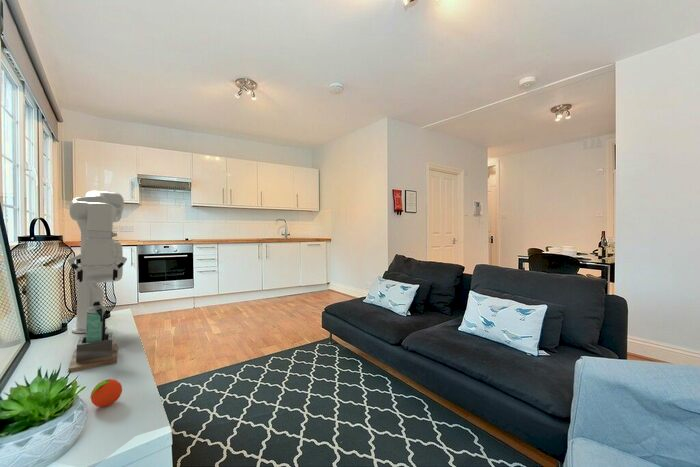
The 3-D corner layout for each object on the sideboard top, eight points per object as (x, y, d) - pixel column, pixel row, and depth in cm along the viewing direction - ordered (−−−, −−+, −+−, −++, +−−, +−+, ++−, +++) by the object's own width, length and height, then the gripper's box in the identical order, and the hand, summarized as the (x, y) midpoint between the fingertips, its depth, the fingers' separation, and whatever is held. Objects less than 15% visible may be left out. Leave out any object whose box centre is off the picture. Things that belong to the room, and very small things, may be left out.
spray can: (108, 352, 117) (109, 300, 117) (94, 357, 112) (96, 303, 112) (95, 350, 118) (96, 299, 118) (81, 356, 112) (83, 302, 112)
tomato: (100, 416, 80) (101, 389, 80) (78, 412, 81) (79, 386, 81) (127, 400, 88) (128, 375, 88) (107, 397, 89) (108, 372, 89)
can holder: (74, 352, 119) (75, 333, 119) (116, 345, 126) (117, 328, 126) (68, 372, 103) (68, 350, 103) (116, 363, 111) (117, 343, 111)
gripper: (127, 235, 123) (126, 277, 123) (69, 234, 112) (68, 280, 113) (128, 236, 117) (126, 280, 117) (67, 235, 106) (65, 284, 107)
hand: (97, 280), depth 115 cm, fingers open, 9 cm apart
